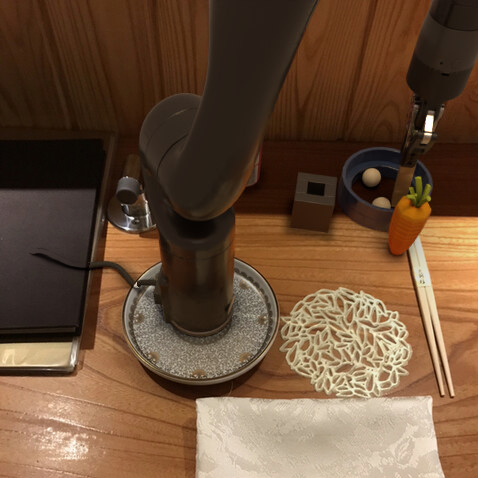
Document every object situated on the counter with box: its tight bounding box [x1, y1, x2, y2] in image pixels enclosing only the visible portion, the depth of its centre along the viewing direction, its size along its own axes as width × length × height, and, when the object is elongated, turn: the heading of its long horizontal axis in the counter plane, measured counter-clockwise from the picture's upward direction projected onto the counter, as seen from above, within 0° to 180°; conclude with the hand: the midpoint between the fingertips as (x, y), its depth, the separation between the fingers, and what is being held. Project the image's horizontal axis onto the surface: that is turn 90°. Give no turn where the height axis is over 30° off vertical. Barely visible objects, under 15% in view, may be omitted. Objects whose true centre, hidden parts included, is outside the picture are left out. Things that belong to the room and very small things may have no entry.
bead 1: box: [361, 168, 382, 188], centre depth 93 cm, size 3×3×3 cm
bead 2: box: [371, 196, 392, 209], centre depth 90 cm, size 3×3×3 cm
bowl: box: [336, 146, 434, 233], centre depth 91 cm, size 14×14×6 cm
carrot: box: [387, 177, 432, 256], centre depth 81 cm, size 5×5×15 cm
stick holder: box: [289, 171, 338, 234], centre depth 88 cm, size 6×6×7 cm
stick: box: [391, 134, 416, 208], centre depth 85 cm, size 2×2×14 cm
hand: (406, 159), depth 83 cm, fingers closed on stick, 2 cm apart
